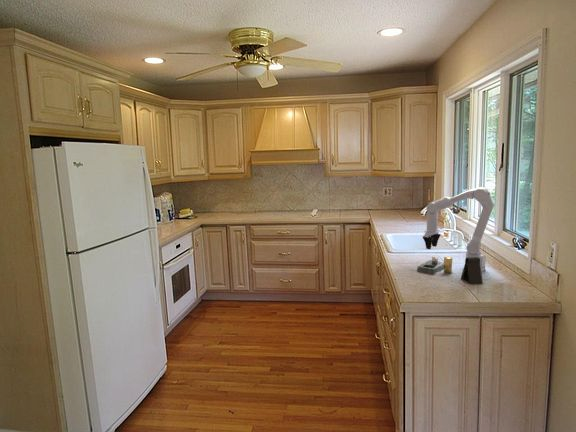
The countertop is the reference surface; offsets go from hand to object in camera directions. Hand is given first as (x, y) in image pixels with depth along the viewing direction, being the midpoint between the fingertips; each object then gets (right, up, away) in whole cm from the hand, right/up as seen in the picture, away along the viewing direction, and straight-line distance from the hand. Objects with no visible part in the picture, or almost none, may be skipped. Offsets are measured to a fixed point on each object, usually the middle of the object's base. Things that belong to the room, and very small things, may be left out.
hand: (431, 247), depth 221 cm
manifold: (-2, -11, -7) cm, 13 cm away
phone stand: (+10, -15, -27) cm, 33 cm away
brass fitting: (+3, -12, -14) cm, 19 cm away
